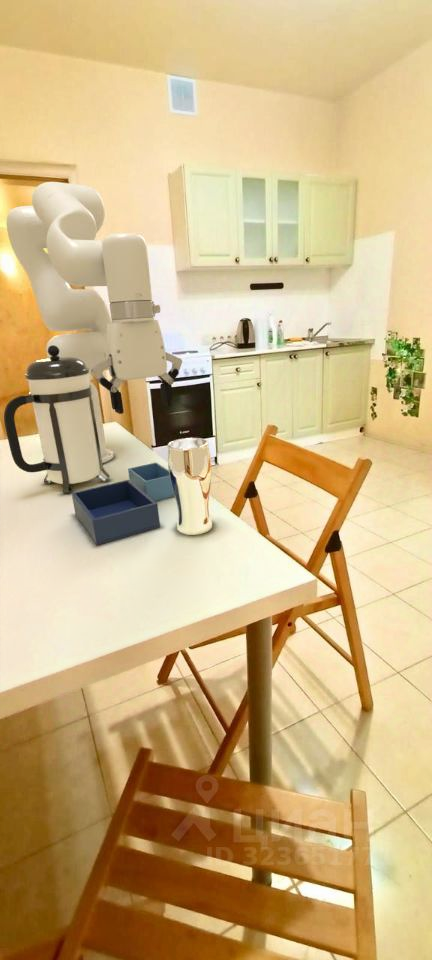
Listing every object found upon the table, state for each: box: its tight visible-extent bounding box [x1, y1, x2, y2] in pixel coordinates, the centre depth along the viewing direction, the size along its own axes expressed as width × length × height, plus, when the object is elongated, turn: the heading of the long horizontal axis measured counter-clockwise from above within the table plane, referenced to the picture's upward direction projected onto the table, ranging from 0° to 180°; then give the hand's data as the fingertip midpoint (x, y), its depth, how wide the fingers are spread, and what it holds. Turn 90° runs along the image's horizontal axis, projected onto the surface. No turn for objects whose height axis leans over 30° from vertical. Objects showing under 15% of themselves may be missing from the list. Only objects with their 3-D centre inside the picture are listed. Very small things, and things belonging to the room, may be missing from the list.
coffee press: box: [3, 345, 111, 494], centre depth 96 cm, size 17×16×30 cm
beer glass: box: [167, 437, 213, 536], centre depth 74 cm, size 7×7×15 cm
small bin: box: [127, 462, 175, 502], centre depth 93 cm, size 10×6×4 cm, turn 30°
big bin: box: [71, 479, 161, 546], centre depth 81 cm, size 15×11×4 cm
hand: (143, 408), depth 85 cm, fingers open, 9 cm apart
